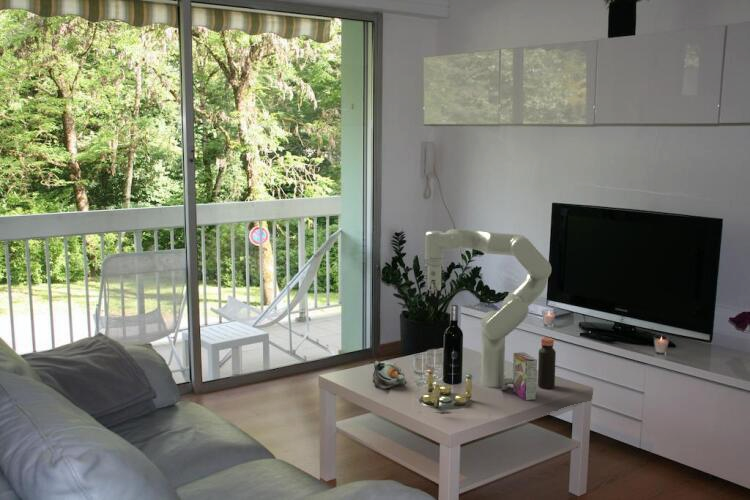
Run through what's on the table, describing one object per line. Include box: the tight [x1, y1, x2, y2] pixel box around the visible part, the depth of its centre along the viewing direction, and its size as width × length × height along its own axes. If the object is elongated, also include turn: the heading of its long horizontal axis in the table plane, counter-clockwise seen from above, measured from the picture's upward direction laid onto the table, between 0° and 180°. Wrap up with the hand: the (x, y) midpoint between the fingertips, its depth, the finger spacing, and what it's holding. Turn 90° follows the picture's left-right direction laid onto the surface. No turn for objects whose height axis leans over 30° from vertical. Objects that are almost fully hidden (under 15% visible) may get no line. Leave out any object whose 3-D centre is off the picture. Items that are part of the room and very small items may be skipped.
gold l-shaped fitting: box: [422, 381, 441, 406], centre depth 294 cm, size 9×4×10 cm, turn 24°
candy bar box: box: [512, 351, 538, 401], centre depth 308 cm, size 11×5×16 cm, turn 17°
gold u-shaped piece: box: [426, 368, 452, 396], centre depth 306 cm, size 9×4×10 cm, turn 84°
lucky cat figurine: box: [372, 360, 407, 390], centre depth 320 cm, size 15×12×14 cm
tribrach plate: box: [418, 391, 472, 415], centre depth 300 cm, size 20×20×3 cm
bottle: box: [537, 337, 557, 390], centre depth 320 cm, size 7×7×20 cm
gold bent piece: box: [455, 373, 473, 405], centre depth 297 cm, size 9×4×10 cm, turn 144°
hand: (433, 303), depth 316 cm, fingers open, 9 cm apart
